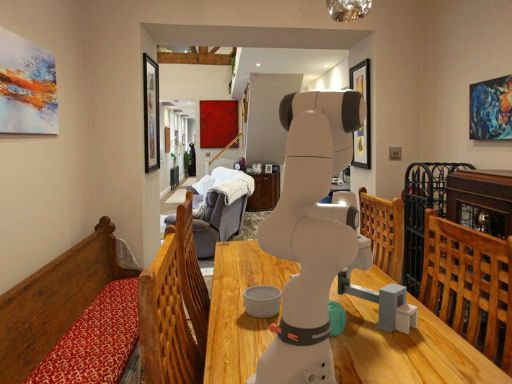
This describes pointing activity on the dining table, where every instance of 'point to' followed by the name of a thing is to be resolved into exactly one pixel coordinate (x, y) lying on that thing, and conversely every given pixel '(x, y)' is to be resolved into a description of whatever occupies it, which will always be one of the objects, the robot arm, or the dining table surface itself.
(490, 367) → the dining table surface
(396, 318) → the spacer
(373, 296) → the shaft
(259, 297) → the ramekin
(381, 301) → the bearing block
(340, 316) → the decorative dice
